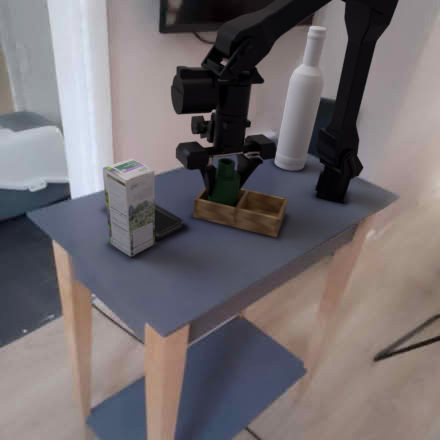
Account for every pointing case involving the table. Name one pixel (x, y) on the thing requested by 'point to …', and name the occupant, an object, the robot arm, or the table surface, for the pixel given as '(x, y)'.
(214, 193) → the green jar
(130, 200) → the syrup box
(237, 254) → the table surface
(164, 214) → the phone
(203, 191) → the wooden divided tray
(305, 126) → the bottle
